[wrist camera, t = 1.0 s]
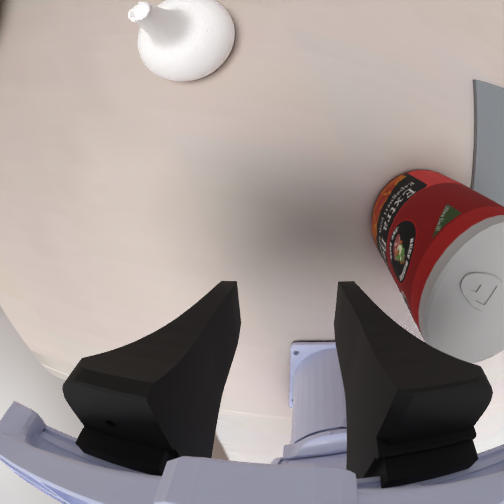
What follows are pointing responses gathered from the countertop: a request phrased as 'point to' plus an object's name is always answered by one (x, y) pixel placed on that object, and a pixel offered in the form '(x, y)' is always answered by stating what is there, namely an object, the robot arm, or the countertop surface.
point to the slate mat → (488, 141)
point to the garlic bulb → (183, 37)
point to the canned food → (445, 260)
